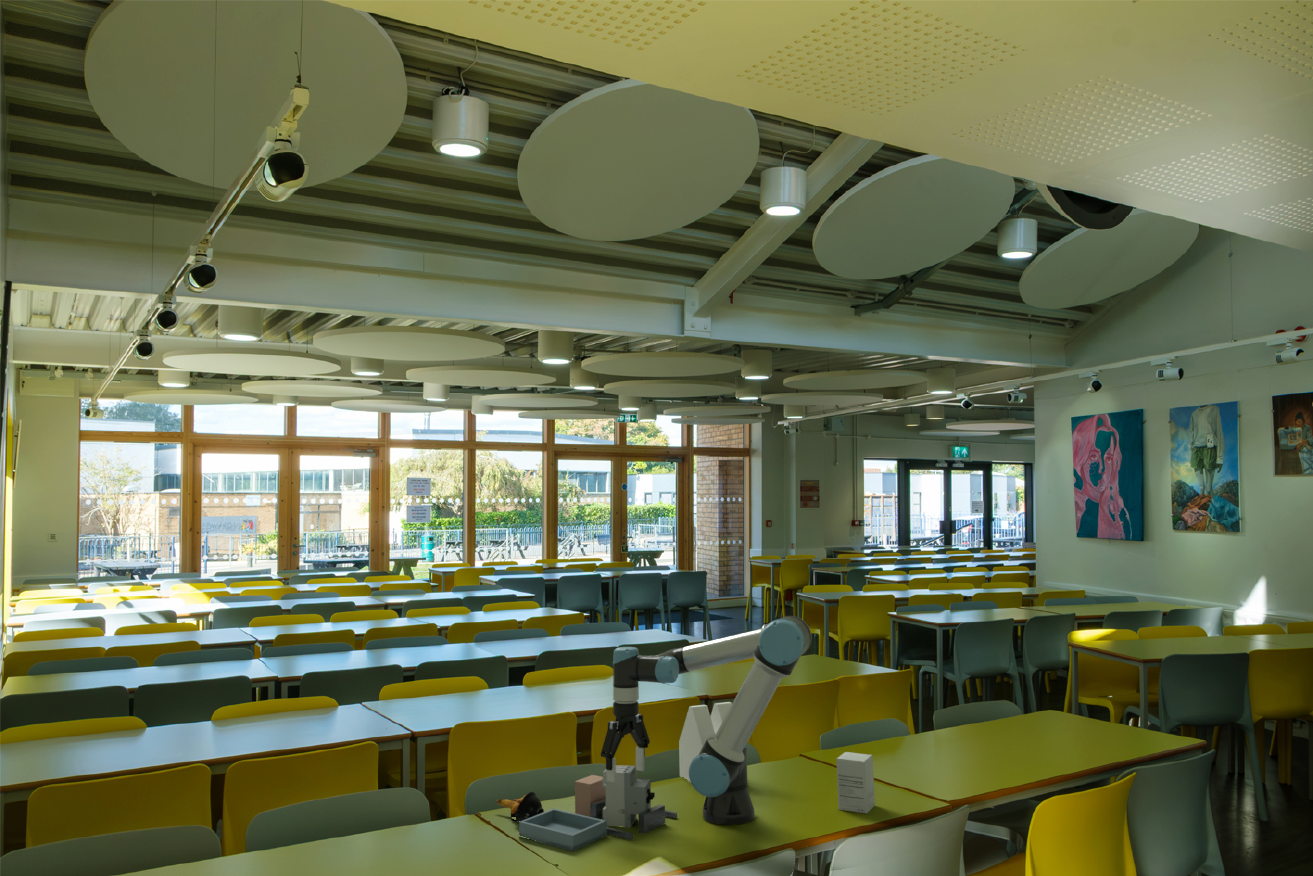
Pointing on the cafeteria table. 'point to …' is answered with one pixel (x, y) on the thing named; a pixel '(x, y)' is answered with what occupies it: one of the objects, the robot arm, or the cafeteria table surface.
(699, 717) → the milk carton
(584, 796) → the beige rectangular block
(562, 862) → the cafeteria table surface
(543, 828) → the tray
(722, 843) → the cafeteria table surface
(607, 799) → the circuit breaker
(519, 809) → the fried shrimp in bowl
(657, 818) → the grey blocks
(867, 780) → the supplement box
